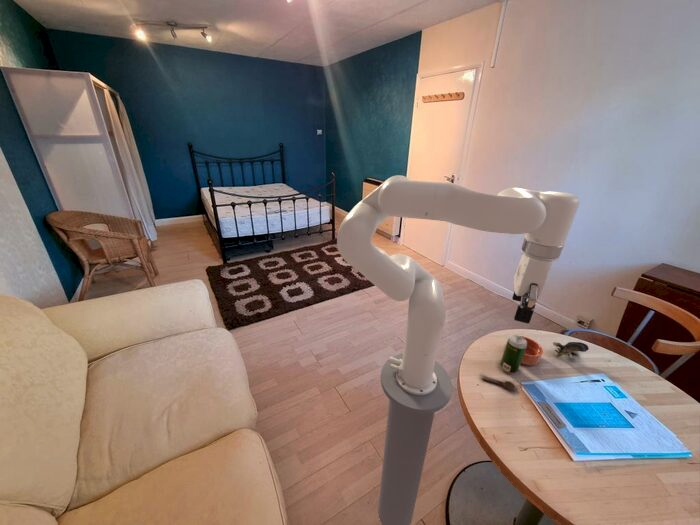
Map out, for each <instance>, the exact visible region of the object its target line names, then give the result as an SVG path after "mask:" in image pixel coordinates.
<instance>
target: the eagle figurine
mask: <svg viewBox="0 0 700 525" xmlns="http://www.w3.org/2000/svg"><path fill="white" fill-rule="evenodd" d="M552 345H553V346H554V347H556V349H557V350H556V349H554V351H555V352H556V353H557V354H556V355H555V356H556V358H558V357H561V356H567V357H568V358H569V359H570V360H571V361H573V355H572V353H573V354H575V355H578V353H577V352H581V353H585V352H587V351H589V350H590V348H589V345H588V344H586V343H584V342H580V341H568V342H567V343H565V344H562V343H561V342H557V341H553V342H552Z"/></svg>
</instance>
